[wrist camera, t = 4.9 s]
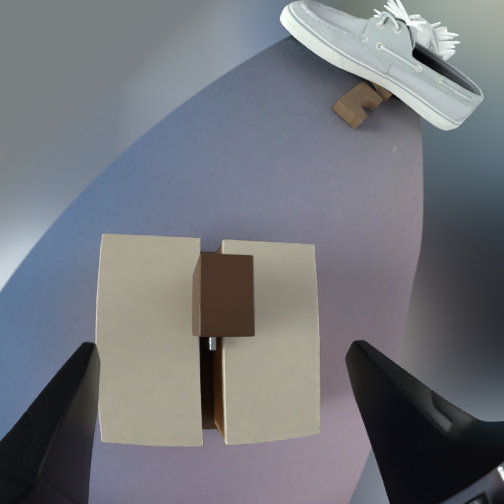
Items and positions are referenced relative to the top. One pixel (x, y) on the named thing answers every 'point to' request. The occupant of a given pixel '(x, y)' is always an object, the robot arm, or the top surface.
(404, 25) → the boat shoe
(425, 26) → the white spiky tuft
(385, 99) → the wooden blocks
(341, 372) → the top surface
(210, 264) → the brown wooden block
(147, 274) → the beige cardboard box
